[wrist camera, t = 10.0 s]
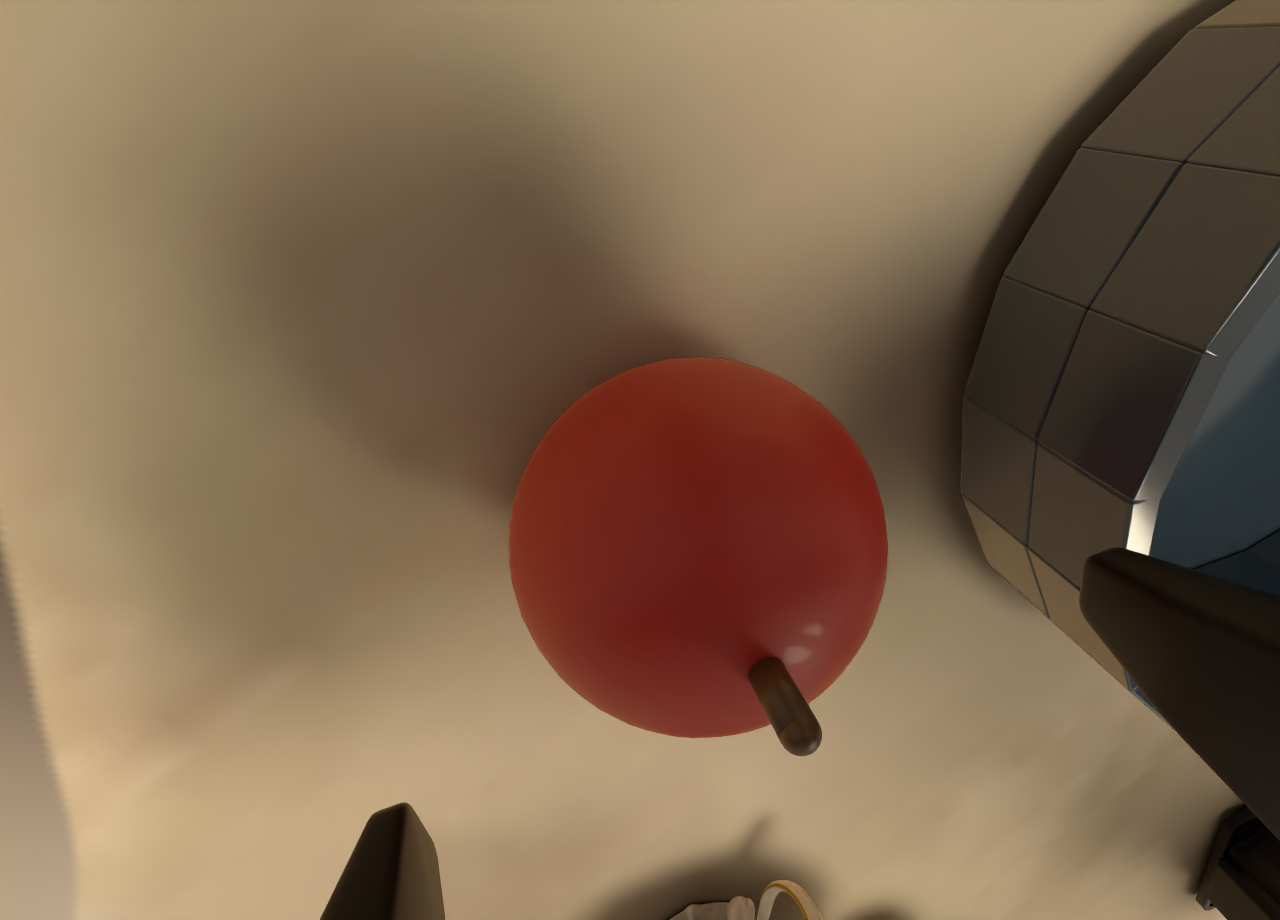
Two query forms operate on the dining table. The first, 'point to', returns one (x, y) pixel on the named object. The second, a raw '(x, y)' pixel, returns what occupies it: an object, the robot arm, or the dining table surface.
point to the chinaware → (752, 905)
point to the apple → (699, 550)
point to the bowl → (1143, 341)
